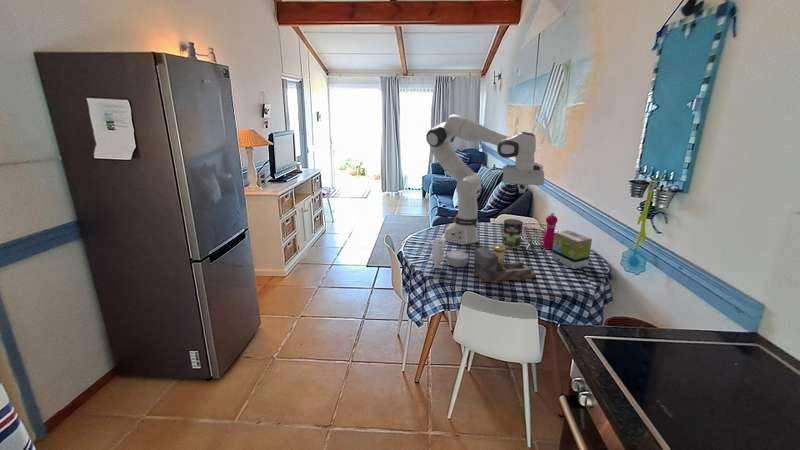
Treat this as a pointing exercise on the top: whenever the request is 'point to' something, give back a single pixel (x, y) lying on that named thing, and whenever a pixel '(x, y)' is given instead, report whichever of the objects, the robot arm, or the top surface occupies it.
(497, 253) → the knob
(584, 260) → the tea box
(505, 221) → the coffee can
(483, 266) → the rail mount
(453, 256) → the ramekin
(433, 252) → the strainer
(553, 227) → the pepper mill
